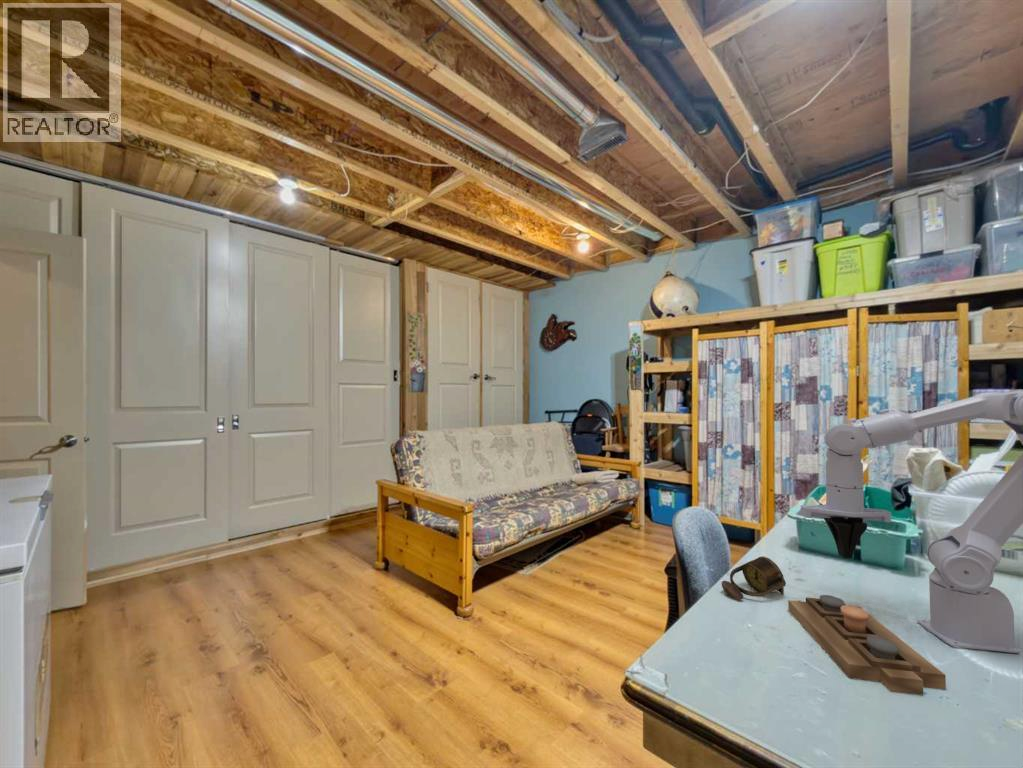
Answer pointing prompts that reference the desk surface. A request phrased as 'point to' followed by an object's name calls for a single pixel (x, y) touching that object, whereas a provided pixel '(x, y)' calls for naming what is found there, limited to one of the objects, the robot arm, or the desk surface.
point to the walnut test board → (866, 650)
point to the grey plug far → (831, 603)
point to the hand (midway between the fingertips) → (845, 556)
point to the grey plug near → (882, 647)
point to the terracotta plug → (854, 619)
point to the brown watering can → (756, 579)
